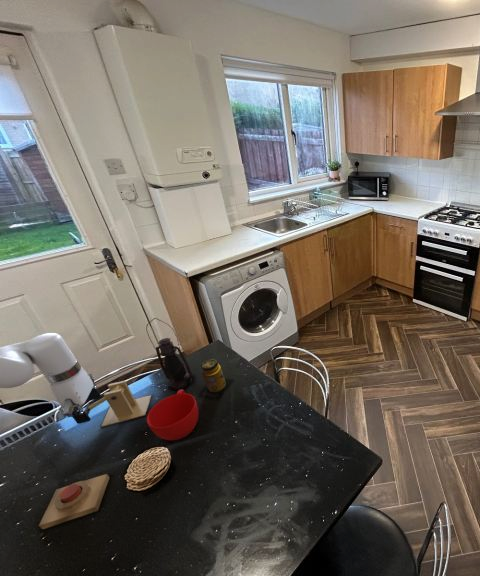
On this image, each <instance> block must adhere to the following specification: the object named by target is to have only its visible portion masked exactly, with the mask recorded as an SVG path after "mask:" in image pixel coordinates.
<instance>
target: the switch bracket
mask: <svg viewBox="0 0 480 576" xmlns="http://www.w3.org/2000/svg"><path fill="white" fill-rule="evenodd" d="M118 385H119V386H121V387H123V388H124V392H123V391H122V390H121V389H119V390H115V391H111V392H110V390H111V389H113V388H114V387H116V386H118ZM107 388H108V389H109V391H108V392H107V391H106V392H104V393H103V397H105V398H106V402H107V403H108V405H109V407H108V409H107V412H106V414H105V417H104V419H103V422H102V423H101V428H103V427H106V426H107V427H108V426H110V425H114V424H119V423H122V422H126V421H130V420H133V419H137V418H140V417H143V416H146V414H147V411H148V408H149V405H150V402H151V399H152V395H151V394H150V395H146V396H142V397H137V398H135V396H134V394H133V392H132V391H131V389H130V387H129V385H128V383H127V381H126V380H121V381H117V382H112V383H109V384H107Z"/></svg>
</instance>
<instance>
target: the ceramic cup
mask: <svg viewBox="0 0 480 576" xmlns="http://www.w3.org/2000/svg"><path fill="white" fill-rule="evenodd" d="M198 420H199V407H198V403H197V400H196V398H195V397H194V396H193V395H192V394H191V393H186V392H185V390H184V389H178V391H177V392H176V394H172V395H170V396H167V397H165V398H163V399H161V400H160V401H158V402H157V403H156V404H154V406H153V407H151V409H150V410H149V411H148V414H147V416H146V423H147V425H148V427H149V429H150V430H151V431H152V432H153V434H155V435H156V436H157V437H158V438H160V439H162V440H166V441H178V440H181V439H184V438H186V437H187V436H188V435H190V434H191V433H192V432H193V430H194V429H195V427H196V426H197V423H198Z"/></svg>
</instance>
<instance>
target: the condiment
mask: <svg viewBox="0 0 480 576" xmlns="http://www.w3.org/2000/svg"><path fill="white" fill-rule="evenodd" d="M201 371H202V372H201V375H202V377H203V381H205V385H206V388H207V390H208V392H210V393H217V392H220V391H222V390H223V389H224V388H226V385H227V382H226V379H225V376H224V373H223V370H222V367H221V365H220V363H219V362H218V360H217V359H215V358H210V359H207V360H205V361H203V362H202V364H201Z"/></svg>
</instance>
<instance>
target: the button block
mask: <svg viewBox="0 0 480 576" xmlns="http://www.w3.org/2000/svg"><path fill="white" fill-rule="evenodd" d="M109 480H110V476H109V475H108V474H107V473H105V474H101V475H99V476H95V477H92V478H89V479H85V480H80V481H77V482H73V483H72V484H77V485H78V486H79V487H80V488H81V490H82V491H81V493H80V495H79V496H78V497H77V498H76V499H74V500H72V501H71V502H67V503H65V502H63V501H62V500H61V499H60V494H61V492H62V491H63V490H64V489H65V488H66V487H68V486H70V485H72V484H69V485H66V486H64V487H61V488H57V489H55V491H54V493H53V495H52V498H51V499H50V502H49V503H48V505H47V508H46V510H45V512H44V514H43V516H42V518H41V519H40V522H39V524H38V527H39V528H40V529H41V530H45V529H49V528H52V527H54V526H57V525H60V524H63V523H66V522H69V521H72V520H74V519H78V518H81V517H84V516H86V515H90V514H92V513H95V512H98V511H99V509H100V506H101V503H102V501H103V497H104V495H105V491H106V489H107V486H108V484H109Z"/></svg>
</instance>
